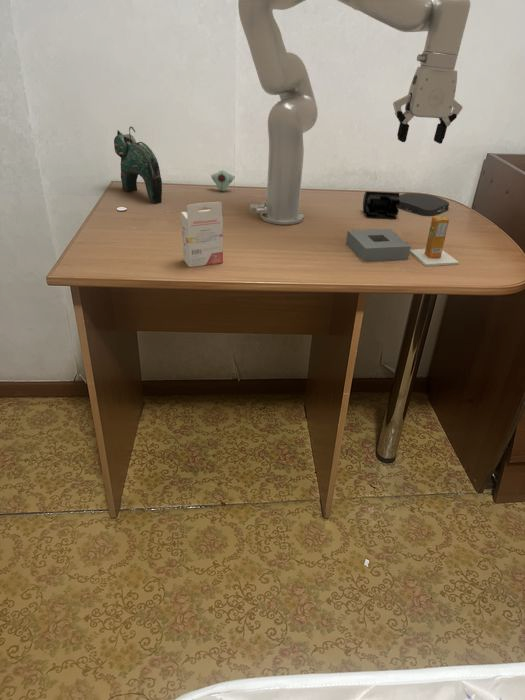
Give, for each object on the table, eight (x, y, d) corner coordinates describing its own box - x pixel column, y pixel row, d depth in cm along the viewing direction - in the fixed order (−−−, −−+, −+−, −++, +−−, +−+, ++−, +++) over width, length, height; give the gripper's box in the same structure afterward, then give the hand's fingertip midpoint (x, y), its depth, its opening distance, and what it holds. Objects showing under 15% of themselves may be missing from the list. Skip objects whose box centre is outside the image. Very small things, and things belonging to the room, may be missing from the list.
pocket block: (363, 261, 127) (365, 248, 125) (345, 243, 137) (347, 230, 135) (407, 259, 130) (410, 246, 128) (387, 241, 140) (390, 229, 138)
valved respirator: (235, 190, 172) (235, 169, 168) (233, 194, 168) (234, 172, 165) (211, 188, 172) (211, 167, 168) (209, 192, 169) (209, 171, 165)
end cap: (393, 212, 161) (397, 190, 158) (398, 219, 155) (402, 197, 152) (361, 210, 161) (364, 188, 157) (365, 218, 155) (368, 195, 151)
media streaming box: (412, 198, 175) (414, 189, 174) (452, 209, 167) (454, 200, 165) (388, 206, 167) (390, 197, 165) (428, 219, 158) (430, 209, 157)
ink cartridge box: (216, 255, 126) (216, 195, 118) (223, 263, 123) (223, 201, 114) (182, 259, 123) (179, 198, 115) (188, 267, 119) (186, 205, 111)
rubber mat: (425, 266, 127) (426, 264, 126) (408, 252, 134) (409, 249, 134) (458, 264, 129) (458, 262, 128) (439, 250, 136) (440, 248, 136)
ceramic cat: (116, 189, 166) (109, 122, 156) (134, 186, 170) (128, 120, 159) (150, 205, 155) (145, 134, 144) (168, 202, 158) (165, 132, 147)
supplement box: (422, 253, 132) (431, 215, 127) (435, 253, 133) (444, 214, 127) (428, 258, 129) (437, 219, 124) (441, 258, 130) (451, 219, 125)
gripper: (410, 61, 112) (393, 144, 121) (481, 66, 115) (459, 146, 125) (396, 57, 118) (380, 136, 127) (464, 62, 121) (444, 139, 131)
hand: (419, 141), depth 126 cm, fingers open, 9 cm apart
